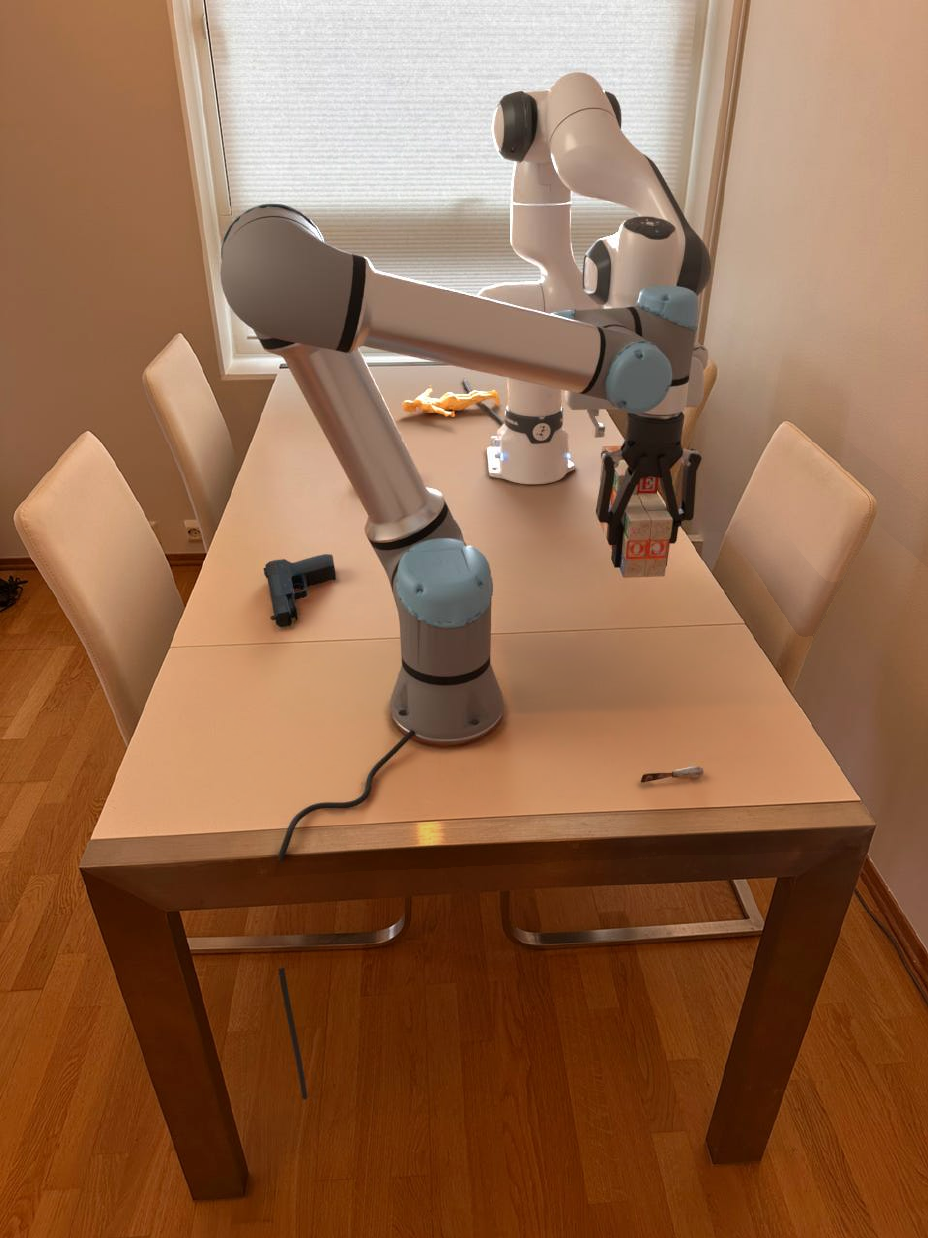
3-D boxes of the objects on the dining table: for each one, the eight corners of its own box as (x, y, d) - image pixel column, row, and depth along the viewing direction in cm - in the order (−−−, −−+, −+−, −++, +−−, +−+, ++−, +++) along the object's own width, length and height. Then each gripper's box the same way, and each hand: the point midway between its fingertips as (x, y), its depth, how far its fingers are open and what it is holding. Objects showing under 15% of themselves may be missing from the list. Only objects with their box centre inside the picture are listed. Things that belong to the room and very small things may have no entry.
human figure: (395, 413, 223) (394, 398, 221) (438, 390, 237) (438, 375, 235) (462, 429, 215) (462, 413, 213) (502, 404, 229) (503, 388, 227)
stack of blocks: (666, 578, 128) (675, 499, 122) (622, 579, 128) (630, 500, 121) (634, 514, 146) (641, 443, 140) (596, 516, 146) (602, 444, 140)
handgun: (348, 619, 141) (272, 630, 139) (332, 566, 156) (262, 576, 153) (347, 602, 140) (269, 613, 137) (331, 550, 154) (260, 559, 151)
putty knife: (703, 777, 109) (705, 767, 109) (642, 788, 108) (644, 777, 107) (700, 772, 110) (702, 762, 109) (639, 782, 109) (640, 771, 108)
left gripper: (719, 399, 122) (696, 549, 135) (580, 402, 122) (569, 552, 134) (735, 418, 116) (710, 573, 128) (589, 420, 115) (577, 576, 128)
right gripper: (703, 335, 131) (691, 426, 138) (565, 338, 130) (560, 429, 137) (716, 347, 125) (703, 441, 132) (571, 350, 124) (566, 444, 132)
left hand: (638, 562), depth 131 cm, fingers closed on stack of blocks, 6 cm apart
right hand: (629, 435), depth 135 cm, fingers open, 8 cm apart
